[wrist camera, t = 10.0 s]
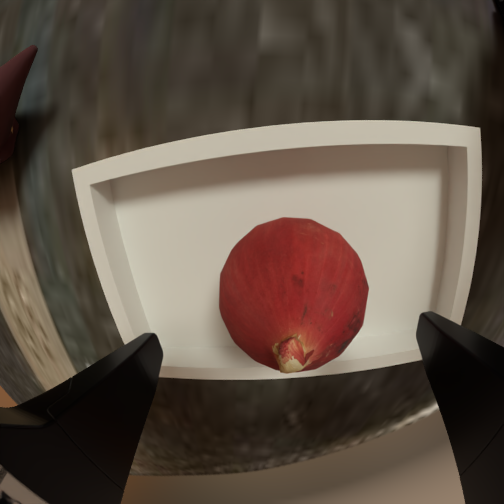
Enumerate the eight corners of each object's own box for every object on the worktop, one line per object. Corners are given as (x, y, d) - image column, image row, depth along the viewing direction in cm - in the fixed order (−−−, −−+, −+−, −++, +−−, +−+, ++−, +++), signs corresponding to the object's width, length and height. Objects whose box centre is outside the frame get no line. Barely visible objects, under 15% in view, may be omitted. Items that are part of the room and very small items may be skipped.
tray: (454, 127, 12) (479, 127, 9) (437, 329, 16) (452, 352, 14) (98, 164, 14) (71, 169, 12) (151, 351, 19) (138, 375, 17)
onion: (367, 233, 14) (439, 325, 6) (312, 320, 16) (326, 440, 9) (263, 180, 13) (242, 230, 6) (217, 279, 16) (169, 391, 8)
